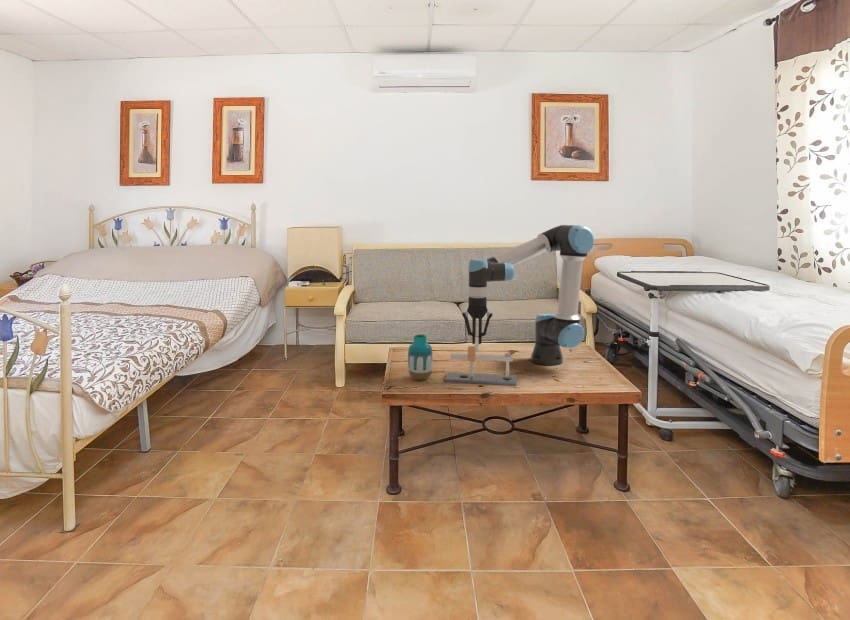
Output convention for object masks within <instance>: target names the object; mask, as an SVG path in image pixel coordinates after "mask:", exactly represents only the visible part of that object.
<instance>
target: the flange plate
mask: <svg viewBox="0 0 850 620" xmlns="http://www.w3.org/2000/svg"><path fill="white" fill-rule="evenodd" d="M444 383H456V384H457V383H458V384H459V383H461V384H462V383H463V384H478V385H479V384H480V385H496V386H497V385H500V386H501V385H502V386H517V385H518V375H514V374H509V379H506V374H491V373H474V372H473V376H470V372H467V373H466V372H453V371H452V372H451V371H449V372H447V374H446V375H445V378H444Z"/></svg>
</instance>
